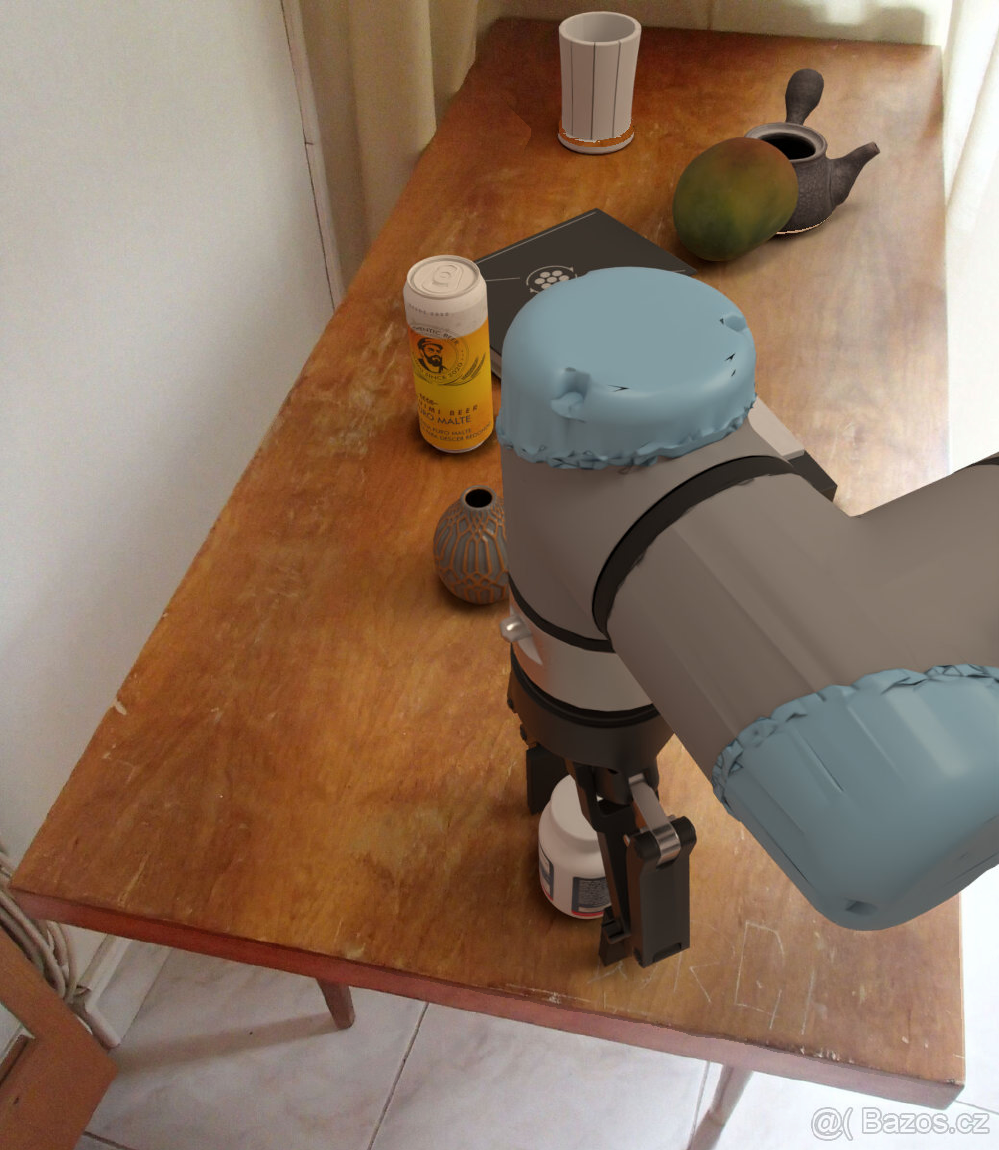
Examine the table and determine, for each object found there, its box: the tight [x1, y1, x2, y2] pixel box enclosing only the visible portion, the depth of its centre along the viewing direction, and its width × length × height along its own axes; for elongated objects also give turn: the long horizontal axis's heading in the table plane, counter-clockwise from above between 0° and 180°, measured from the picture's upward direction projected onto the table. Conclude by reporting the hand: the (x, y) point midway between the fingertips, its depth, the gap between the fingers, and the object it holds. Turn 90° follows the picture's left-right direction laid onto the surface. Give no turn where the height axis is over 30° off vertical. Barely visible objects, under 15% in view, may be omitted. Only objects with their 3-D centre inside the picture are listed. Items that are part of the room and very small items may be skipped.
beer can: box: [402, 254, 494, 454], centre depth 77 cm, size 6×6×15 cm
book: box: [471, 207, 698, 380], centre depth 93 cm, size 22×15×3 cm
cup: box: [557, 11, 642, 155], centre depth 111 cm, size 10×9×12 cm
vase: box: [432, 484, 509, 605], centre depth 69 cm, size 7×7×9 cm
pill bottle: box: [537, 775, 611, 920], centre depth 54 cm, size 5×5×9 cm
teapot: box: [743, 67, 881, 236], centre depth 101 cm, size 19×15×10 cm
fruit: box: [671, 136, 798, 262], centre depth 95 cm, size 12×12×10 cm
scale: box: [748, 395, 839, 504], centre depth 77 cm, size 14×12×3 cm
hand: (584, 872), depth 57 cm, fingers open, 9 cm apart
